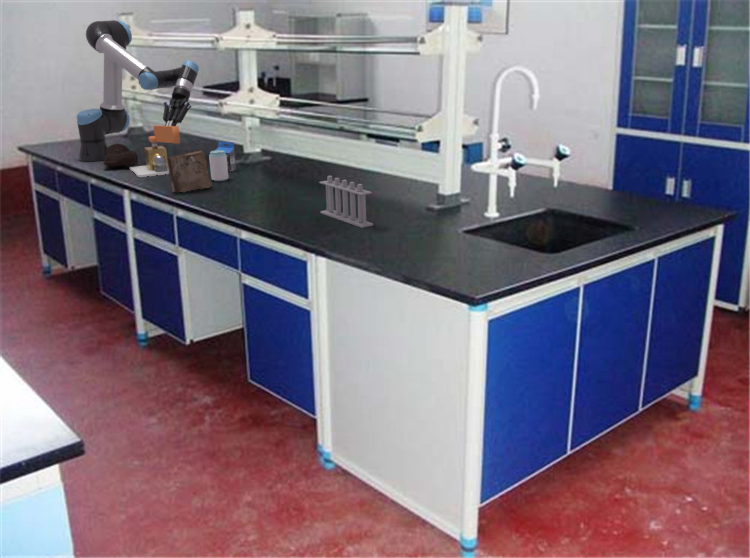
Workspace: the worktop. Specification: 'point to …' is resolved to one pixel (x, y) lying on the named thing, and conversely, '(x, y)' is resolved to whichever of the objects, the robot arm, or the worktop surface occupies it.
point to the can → (218, 165)
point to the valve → (156, 158)
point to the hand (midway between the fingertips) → (167, 134)
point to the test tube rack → (346, 202)
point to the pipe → (120, 156)
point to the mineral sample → (188, 171)
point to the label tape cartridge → (228, 154)
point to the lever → (165, 134)
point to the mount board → (146, 171)
